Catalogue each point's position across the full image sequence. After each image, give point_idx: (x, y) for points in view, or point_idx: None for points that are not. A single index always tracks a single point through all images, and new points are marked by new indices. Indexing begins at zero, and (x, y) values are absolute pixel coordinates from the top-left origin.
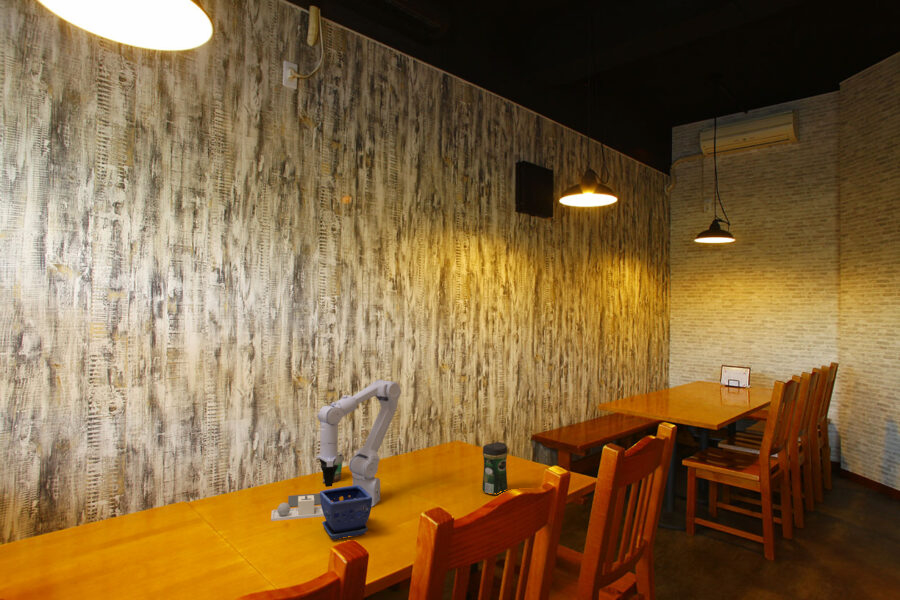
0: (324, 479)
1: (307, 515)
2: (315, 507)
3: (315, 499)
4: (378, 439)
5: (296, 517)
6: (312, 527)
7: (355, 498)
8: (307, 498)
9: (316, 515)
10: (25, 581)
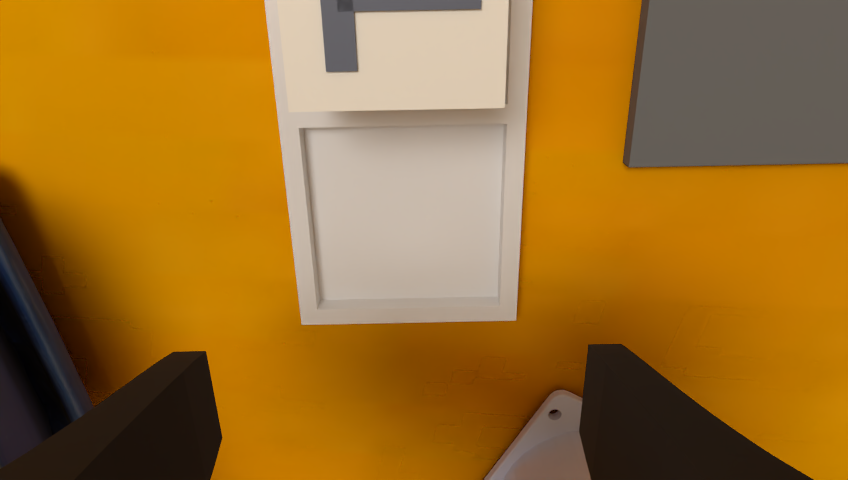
0: (67, 426)
1: (267, 10)
2: None
3: (786, 111)
4: None
5: None
6: (27, 59)
7: (542, 477)
8: (376, 13)
9: (279, 109)
10: None
